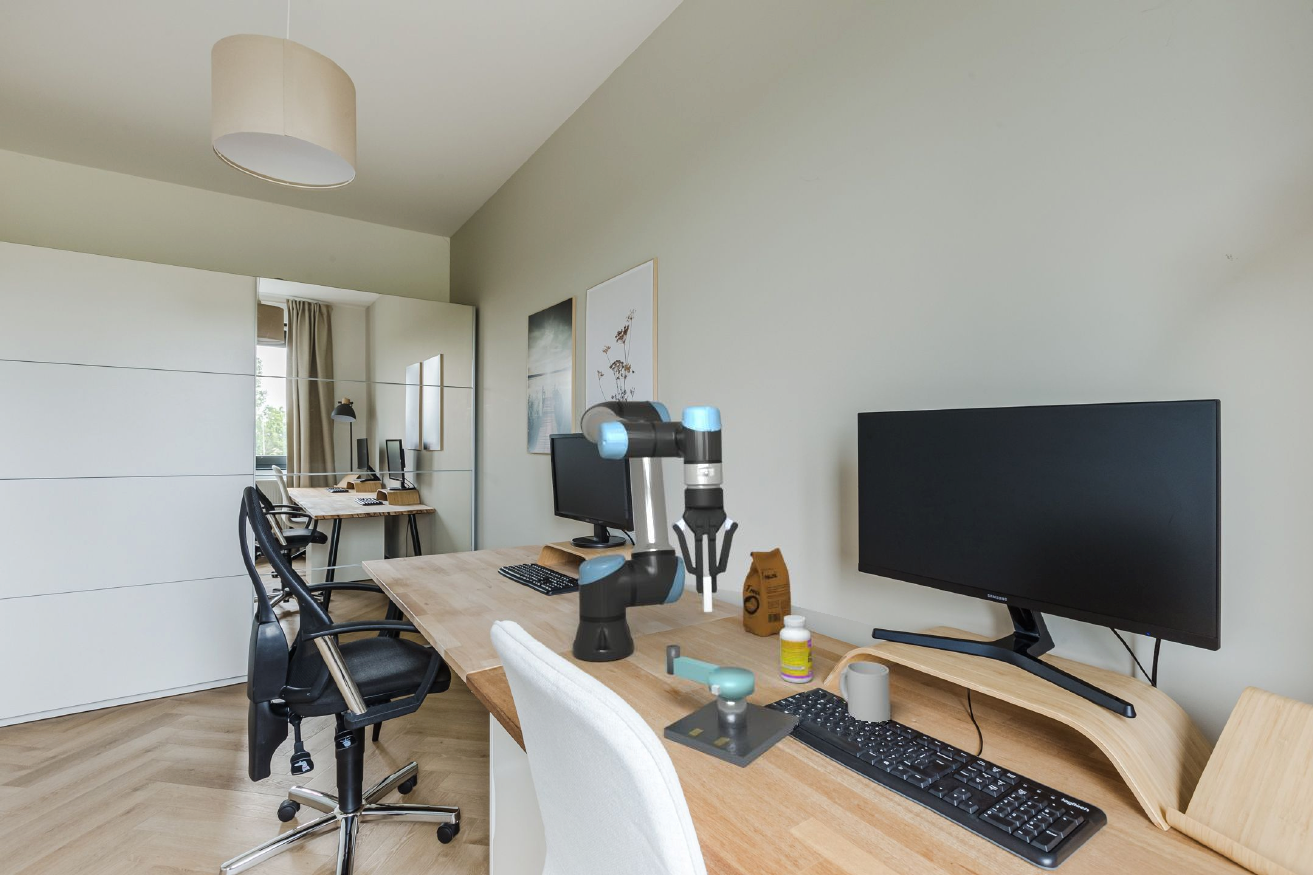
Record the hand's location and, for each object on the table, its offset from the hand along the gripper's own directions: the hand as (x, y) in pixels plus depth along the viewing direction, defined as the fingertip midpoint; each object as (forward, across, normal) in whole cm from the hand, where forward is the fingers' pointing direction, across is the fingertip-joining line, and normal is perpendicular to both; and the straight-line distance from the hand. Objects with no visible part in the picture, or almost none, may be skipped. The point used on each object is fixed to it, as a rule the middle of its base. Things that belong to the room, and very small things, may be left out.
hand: (707, 609), depth 112 cm
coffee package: (+18, +24, +48) cm, 57 cm away
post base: (+19, +2, -10) cm, 21 cm away
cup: (+19, +27, -6) cm, 34 cm away
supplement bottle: (+19, +21, +13) cm, 31 cm away
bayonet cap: (+11, -1, -6) cm, 13 cm away
